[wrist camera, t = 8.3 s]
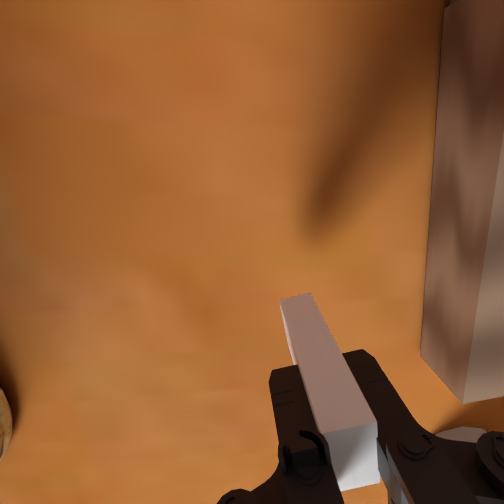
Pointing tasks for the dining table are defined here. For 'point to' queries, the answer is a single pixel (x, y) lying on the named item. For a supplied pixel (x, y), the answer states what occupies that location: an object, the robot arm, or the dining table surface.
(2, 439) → the tankard
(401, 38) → the dining table surface
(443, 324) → the folding leg
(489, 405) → the dining table surface
